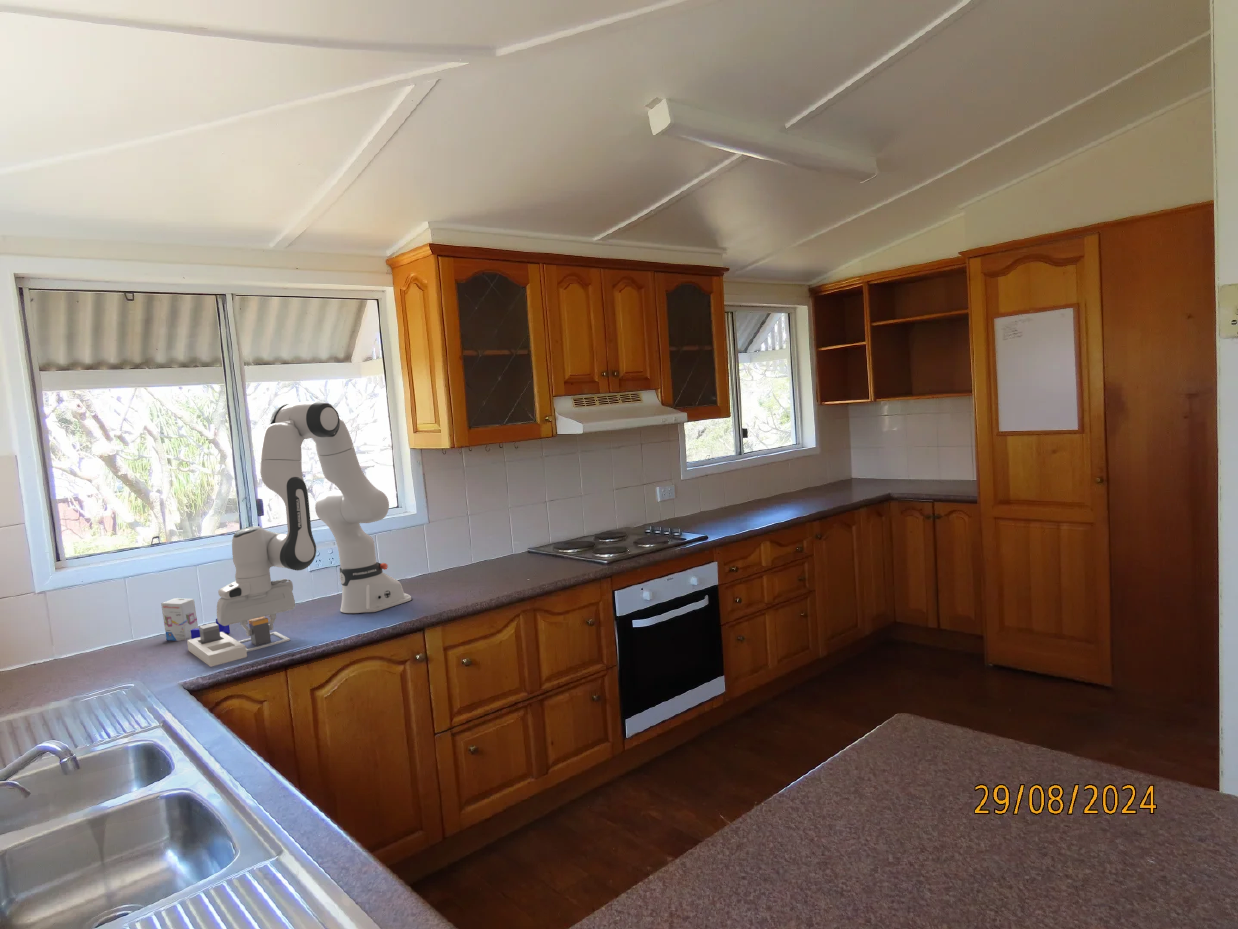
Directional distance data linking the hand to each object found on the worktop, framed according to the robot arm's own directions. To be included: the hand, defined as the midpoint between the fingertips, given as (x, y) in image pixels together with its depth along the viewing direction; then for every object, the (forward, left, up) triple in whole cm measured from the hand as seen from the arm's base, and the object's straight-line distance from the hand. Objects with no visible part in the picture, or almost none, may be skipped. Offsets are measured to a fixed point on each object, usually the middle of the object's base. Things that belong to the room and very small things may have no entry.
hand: (260, 632), depth 218 cm
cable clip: (+9, -18, -4) cm, 20 cm away
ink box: (+13, -31, -4) cm, 34 cm away
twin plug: (+12, -5, -3) cm, 13 cm away
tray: (0, 0, -4) cm, 4 cm away
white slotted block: (+12, 0, -4) cm, 12 cm away
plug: (0, 0, -3) cm, 3 cm away
